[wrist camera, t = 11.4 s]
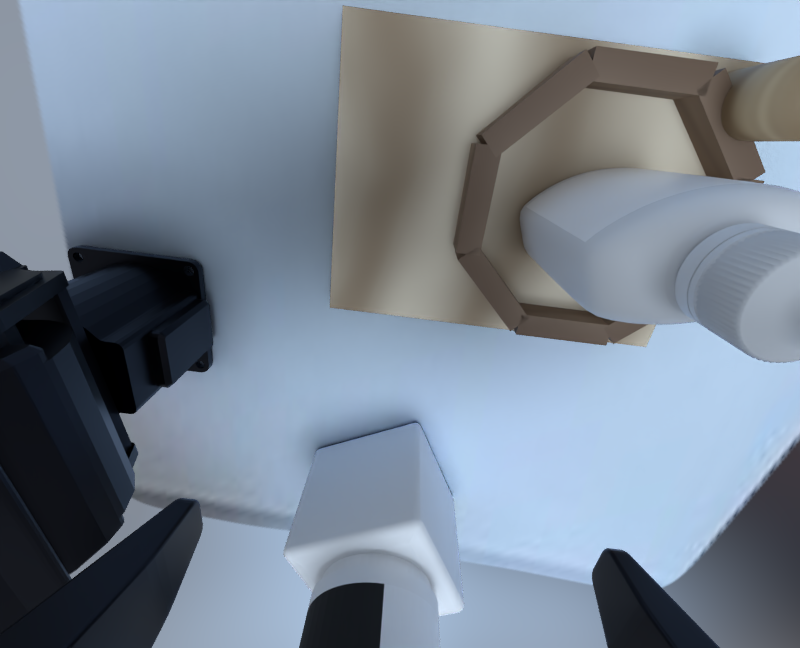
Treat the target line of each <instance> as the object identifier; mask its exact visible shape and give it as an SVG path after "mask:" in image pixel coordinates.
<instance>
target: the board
mask: <svg viewBox="0 0 800 648" xmlns="http://www.w3.org/2000/svg"><path fill="white" fill-rule="evenodd" d="M754 141H800V56H796V57H792V58H787V59H783V60H778V61H774V62H769V63H760V62H752V61H745V60H738V59H730V58H723V57H716V56H708V55H701V54H694V53H686V52H679V51H672V50H664V49H657V48H650V47H642V46H635V45H628V44H620V43H613V42H606V41H598V40H591V39H584V38H576V37H569V36H562V35H554V34H547V33H540V32H532V31H525V30H518V29H510V28H503V27H496V26H488V25H481V24H474V23H466V22H459V21H452V20H444V19H437V18H430V17H422V16H415V15H408V14H400V13H393V12H386V11H378V10H371V9H364V8H356V7H349V6H343V12H342V35H341V58H340V82H339V105H338V128H337V151H336V174H335V197H334V220H333V244H332V267H331V290H330V308H338V309H346V310H354V311H362V312H370V313H378V314H386V315H394V316H402V317H410V318H418V319H426V320H434V321H442V322H450V323H458V324H466V325H474V326H482V327H490V328H498V329H506V330H510V331H511V330H514V331H515V333H516V334H518V335H526V336H534V337H542V338H550V339H558V340H566V341H574V342H582V343H590V344H598V345H606V344H607V342H610V343H613V344H614V343H618V344H626V345H635V346H643V347H646V346H647V344H648V341H649V339H650V337H651V335H652V333H653V330H654V328H655V326H656V325H651V324H635V323H626V322H620V321H613V320H609V319H605V318H601V317H598V316H596V315H594V314H592V313H591V312H589V311H587V310H586V309H584V308H583V307H582V306H581V305H580V304H578V303H577V302H576V301H575V300H574V299H573V298H572V297H571V296H570V295H569V294H568V293H567V292H566V291H565V290H564V289H563V288H562V287H561V286H559V285H558V284H557V283H556V282H555V281H554V280H553V279H552V278H551V277H550V276H549V275H548V274H547V273H546V272H545V271H544V270H543V269H542V268H541V267H540V266H539V265H538V264H537V263H536V262H535V261H534V260H533V259H532V258H531V257H530V256H529V255H528V253H527V252H526V250H525V248H524V244H523V239H522V233H521V226H520V212H521V210H522V208H523V207H524V206H525V204H526V203H528V202H529V201H530V200H531V199H532V198H534V197H535V196H537V195H538V194H540V193H541V192H543V191H544V190H546V189H547V188H549V187H551V186H553V185H555V184H557V183H559V182H561V181H563V180H565V179H567V178H570V177H573V176H576V175H579V174H582V173H586V172H589V171H594V170H600V169H607V168H640V169H649V170H658V171H666V172H675V173H683V174H692V175H700V176H708V177H716V178H724V179H732V180H740V181H748V182H754V183H761V184H763V183H764V181H759V180H754V179H755V178H757V177H758V176H760V175H762V174H763V173H765V170H764V167H763V165H762V162H761V159H760V157H759V154H758V151H757V149H756V146H755V143H754Z"/></svg>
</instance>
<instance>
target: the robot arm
mask: <svg viewBox="0 0 800 648" xmlns="http://www.w3.org/2000/svg"><path fill="white" fill-rule="evenodd" d="M79 253H80V254H81V255H82V256H83V259H82V258H81V257H80V255H79ZM68 258H69V262H70V266H71V269H72V273H73V277H74V279H72V280H70V281H67V279H66V276H65V274H64V272H63V271H31V270H28V268H27V266H26V265H24V266H23V265H21V264H20V263H18V262H17V261H15V260H14V259H12V258H11V257H10V256H8V255H7V254H5V253H4V252H0V648H152V646H153V644H154V642H155V640H156V638H157V636H158V634H159V632H160V630H161V628H162V626H163V624H164V622H165V620H166V618H167V616H168V614H169V612H170V610H171V607H172V605H173V603H174V600H175V598H176V595H177V593H178V590H179V588H180V585H181V583H182V580H183V578H184V576H185V573H186V570H187V568H188V566H189V563H190V561H191V558H192V556H193V553H194V551H195V548H196V546H197V543H198V541H199V539H200V536H201V533H202V526H203V523H202V516H201V509H200V504H199V502H198V501H197V500H195V499H187V498H180V499H177V500H175V501H174V502H172V503H171V504H170V505H168V506H167V507H166V508H165V509H163V510H162V511H161V512H159V513H158V514H157V515H156V516H154V517H153V518H151V519H150V520H149V521H147V522H146V523H145V524H144V525H142V526H141V527H140V528H139V529H137V530H136V531H134V532H133V533H132V534H130V535H129V536H128V537H127V538H125V539H124V540H123V541H121V542H120V543H119V544H117V545H116V546H115V547H113V548H112V549H111V550H109V551H108V552H107V553H105V554H104V555H103V556H102V557H100V558H99V559H98V560H96V561H95V562H94V563H92V564H91V565H90V566H88V567H87V568H86V569H84V570H83V571H82V572H81V573H79V574H78V575H77V576H75V577H74V578H73V579H71V577H70V576H69V575H70V574H71V573H73V572H74V571H76V570H77V569H78V568H79V567H80V566H81V565H83V564H84V563H85V562H86V561H87V560H88V559H90V558H91V557H92V556H93V555H94V554H95V553H97V552H98V551H99V550H100V549H101V548H102V547H103V546H105V545H106V544H107V543H108V541H109V540H110V539H111V538H112V537H113V536H114V535H115V533H116V532H117V531H118V530H119V529H120V527H121V526H122V525H123V523H124V517H123V515H122V514H123V513H124V512H125V510H126V508H127V505H128V503H129V501H130V499H131V497H132V495H133V492H134V490H135V473H134V471H133V466H134V463H135V461H136V458H137V456H138V451H137V448H136V446H135V444H134V443H132V442H131V441H130V439H129V437H128V434H127V432H126V429H125V427H124V425H123V422H122V420H121V417H120V415H119V413H128V414H134V413H135V412H136V411H137V410H139V409H140V408H141V407H142V406H143V405H144V404H145V403H146V402H147V401H148V400H149V399H150V398H151V397H152V396H153V395H154V394H155V393H156V392H157V391H158V390H159V389H160V388H161V387H167V388H168V387H170V386H171V385H173V384H174V383H175V382H176V381H177V380H178V379H179V378H180V377H181V376H182V375H183V374H184V373H185V372H186V371H196V372H205V371H207V370H208V369H209V368H210V367H211V366H212V353H211V346H212V345H213V338H212V328H211V318H210V309H209V304H208V302H207V301H206V297H205V288H204V279H203V270H202V266H201V265H200V264H199V263H198V262H197V261H196V260H192V259H186V258H178V257H170V256H162V255H154V254H146V253H138V252H130V251H122V250H114V249H106V248H98V247H90V246H82V245H81V246H76V247H73V248H71V249H69V251H68ZM188 266H189V267H191V268H192V269H193V271H194V273H191V272H190V271H189V270H188ZM200 361H202V362H203V363H204V365H203V364H201V363H200ZM592 581H593V586H594V590H595V594H596V599H597V603H598V608H599V612H600V616H601V620H602V624H603V629H604V633H605V638H606V642H607V646H608V648H720V647H719V646H718V645H717V644H716V643H715V642H714V641H713V640H712V639H711V638H710V637H709V636H708V635H707V634H706V633H705V632H704V631H703V630H702V629H701V628H700V627H699V626H698V625H697V624H696V623H695V622H694V621H693V620H692V619H691V618H690V617H689V616H688V615H687V614H686V612H685V611H684V610H682V608H681V607H680V606H679V605H678V604H677V603H676V602H675V601H674V600H673V599H672V598H671V597H670V596H669V595H668V594H667V593H666V592H665V591H664V590H663V589H662V588H661V587H660V586H659V585H658V583H657V582H656V581H655V580H654V579H653V578H652V577H651V576H650V575H649V574H648V573H647V572H646V571H645V570H644V569H643V568H642V567H641V566H640V565H639V564H638V563H637V562H636V561H635V560H634V559H633V558H632V557H631V556H630V555H629V554H628V553H627V552H625V551H623V550H619V549H610V548H607V549H605V550H604V551H603V552H602V554H601V556H600V558H599V559H598V561H597V563H596V565H595V567H594V569H593V572H592Z"/></svg>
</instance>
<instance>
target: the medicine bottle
mask: <svg viewBox="0 0 800 648" xmlns="http://www.w3.org/2000/svg"><path fill="white" fill-rule="evenodd" d="M284 557H285V558H286V559H287V561H288V562H289V563H290V564H291V566H292V567H293V568H294V570H295V571H296V572H297V573H298V575H299V576H300V578H301V579H302V580H303V581H304V583H305V584H306V585H307V587H308V588H309V589H310V591H311V592H312V595H311V599H310V603H309V608H308V612H307V616H306V621H305V625H304V629H303V633H302V638H301V642H300V646H299V648H440V632H439V616H442V615H447V614H453V613H459V612H461V611H462V610H463V608H464V597H463V588H462V578H461V568H460V558H459V549H458V539H457V529H456V519H455V509H454V500H453V497H452V495H451V492H450V490H449V488H448V486H447V483H446V481H445V479H444V477H443V475H442V472H441V470H440V468H439V466H438V463H437V461H436V459H435V457H434V454H433V452H432V450H431V448H430V446H429V443H428V441H427V439H426V437H425V434H424V432H423V430H422V428H421V426H420V424H418V423H412V424H408V425H405V426H401V427H397V428H394V429H390V430H387V431H383V432H379V433H376V434H372V435H368V436H365V437H361V438H357V439H354V440H350V441H347V442H343V443H339V444H336V445H332V446H328V447H325V448H321V449H318V450H317V451H316V453H315V456H314V459H313V462H312V465H311V468H310V471H309V474H308V477H307V480H306V483H305V487H304V490H303V493H302V496H301V499H300V502H299V505H298V508H297V511H296V514H295V517H294V520H293V523H292V526H291V529H290V533H289V536H288V539H287V542H286V545H285V548H284Z"/></svg>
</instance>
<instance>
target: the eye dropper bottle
mask: <svg viewBox="0 0 800 648" xmlns="http://www.w3.org/2000/svg"><path fill="white" fill-rule="evenodd" d="M520 226H521V233H522V239H523V244H524V248H525V250H526V252H527V253H528V255H529V256H530V257H531V258H532V259H533V260H534V261H535V262H536V263H537V264H538V265H539V266H540V267H541V268H542V269H543V270H544V271H545V272H546V273H547V274H548V275H549V276H550V277H551V278H552V279H553V280H554V281H555V282H556V283H557V284H558V285H559V286H561V287H562V288H563V289H564V290H565V291H566V292H567V293H568V294H569V295H570V296H571V297H572V298H573V299H574V300H575V301H576V302H577V303H578V304H580V305H581V306H582V307H583V308H584V309H586V310H587V311H589V312H591V313H592V314H594V315H596V316H598V317H601V318H605V319H609V320H613V321H620V322H626V323H635V324H651V325H662V324H682V323H691V322H697V323H699V324H701V325H702V326H704V327H705V328H707V329H708V330H710V331H711V332H713V333H715V334H716V335H718V336H719V337H721V338H722V339H724V340H725V341H727V342H729V343H730V344H732V345H733V346H735V347H736V348H738V349H739V350H741V351H743V352H744V353H746V354H747V355H749V356H751V357H752V358H756V359H758V360H762V361H764V362H767V361H768V362H770V363H771V362H776V363H781V362H783V363H786V362H794V361H799V360H800V192H799V191H795V190H792V189H788V188H784V187H780V186H775V185H768V184H761V183H754V182H748V181H740V180H732V179H724V178H716V177H708V176H700V175H692V174H683V173H675V172H666V171H658V170H649V169H640V168H607V169H600V170H594V171H589V172H586V173H582V174H579V175H576V176H573V177H570V178H567V179H565V180H563V181H561V182H559V183H557V184H555V185H553V186H551V187H549V188H547V189H546V190H544V191H543V192H541V193H540V194H538V195H537V196H535V197H534V198H532V199H531V200H530V201H529V202H528V203H526V204H525V206H524V207H523V208H522V210H521V212H520Z"/></svg>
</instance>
